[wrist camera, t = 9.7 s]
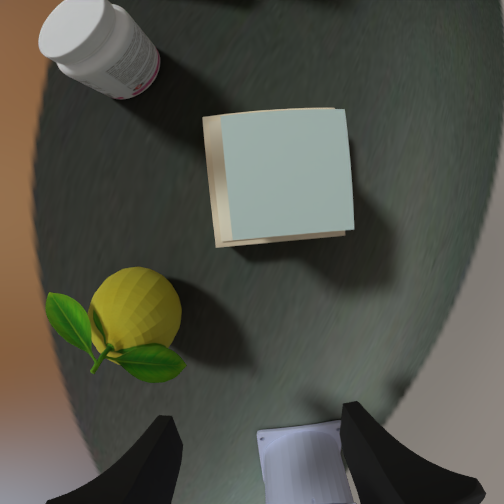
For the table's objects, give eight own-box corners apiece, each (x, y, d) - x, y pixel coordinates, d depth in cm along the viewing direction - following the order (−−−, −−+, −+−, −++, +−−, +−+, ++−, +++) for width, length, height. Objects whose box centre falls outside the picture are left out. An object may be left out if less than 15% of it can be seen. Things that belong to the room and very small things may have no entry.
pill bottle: (158, 33, 16) (113, -30, 8) (166, 88, 17) (115, 38, 9) (98, 55, 16) (35, 12, 8) (103, 109, 18) (30, 81, 9)
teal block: (319, 211, 17) (354, 229, 11) (239, 218, 17) (232, 240, 11) (313, 132, 16) (344, 109, 10) (231, 138, 16) (220, 115, 10)
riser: (334, 228, 20) (345, 236, 17) (220, 239, 20) (216, 248, 17) (324, 116, 18) (335, 107, 15) (208, 124, 18) (201, 116, 15)
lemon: (101, 260, 20) (14, 316, 10) (171, 235, 20) (103, 287, 10) (136, 339, 22) (81, 426, 12) (204, 323, 21) (175, 422, 11)
